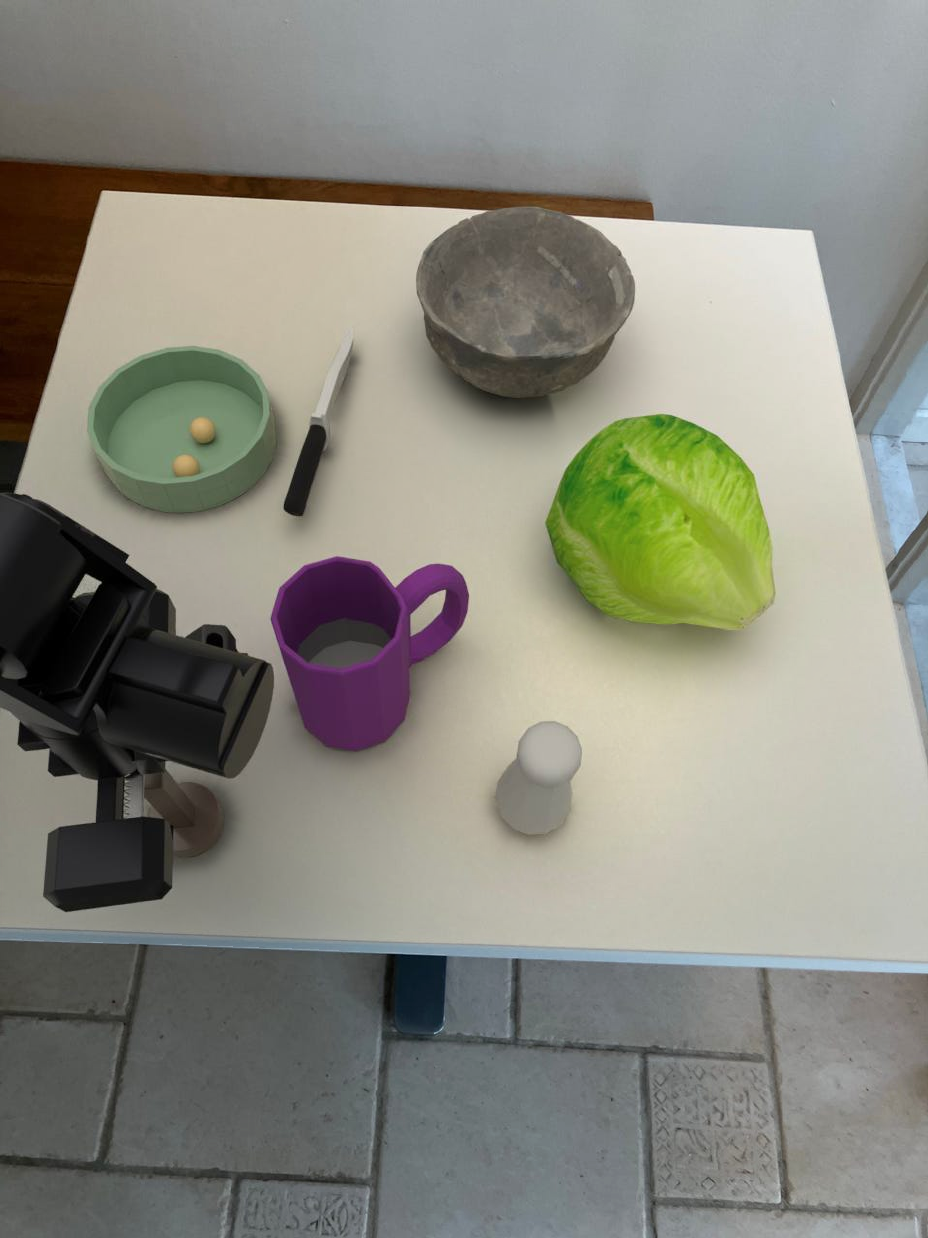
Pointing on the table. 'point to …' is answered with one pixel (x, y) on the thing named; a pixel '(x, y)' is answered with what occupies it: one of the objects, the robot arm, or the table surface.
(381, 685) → the mug
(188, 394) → the mixing bowl
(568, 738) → the salt shaker
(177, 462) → the bean
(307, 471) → the knife
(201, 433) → the bean
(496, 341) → the bowl
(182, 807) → the lever handle
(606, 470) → the lettuce
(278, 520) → the table surface
